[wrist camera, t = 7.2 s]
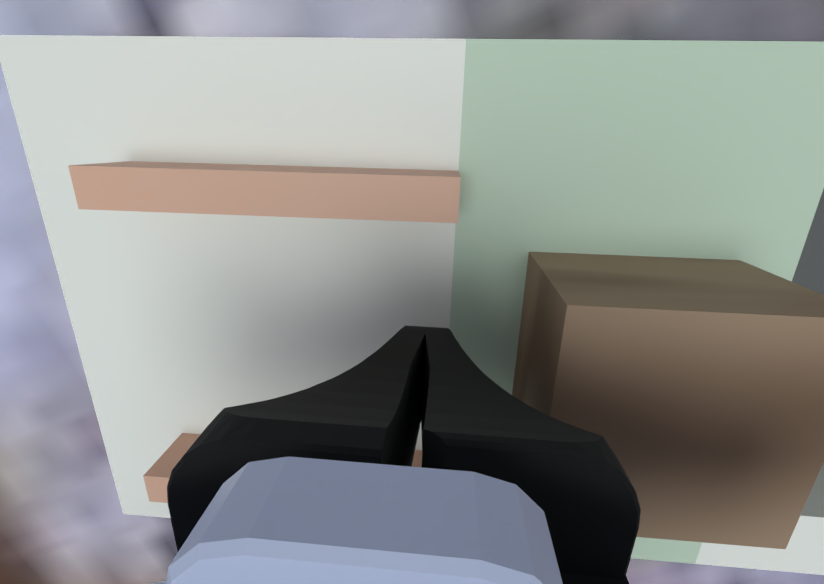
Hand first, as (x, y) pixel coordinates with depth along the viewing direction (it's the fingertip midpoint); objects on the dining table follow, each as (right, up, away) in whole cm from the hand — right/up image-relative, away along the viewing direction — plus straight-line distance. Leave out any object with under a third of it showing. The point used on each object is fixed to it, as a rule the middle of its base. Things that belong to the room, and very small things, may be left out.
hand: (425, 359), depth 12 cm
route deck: (+3, +1, +3) cm, 5 cm away
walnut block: (+5, 0, 0) cm, 6 cm away
